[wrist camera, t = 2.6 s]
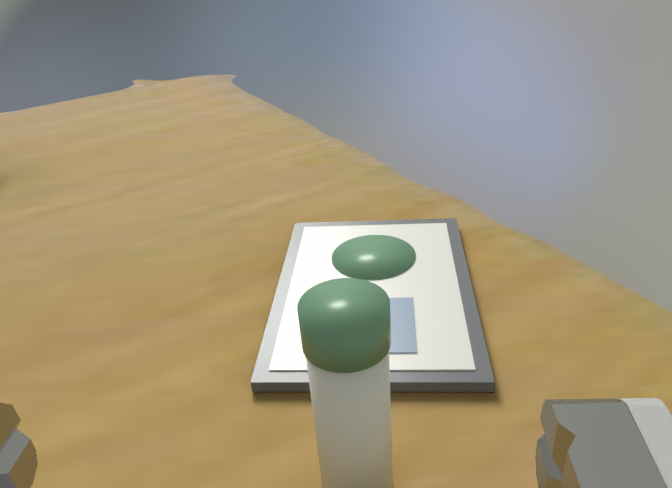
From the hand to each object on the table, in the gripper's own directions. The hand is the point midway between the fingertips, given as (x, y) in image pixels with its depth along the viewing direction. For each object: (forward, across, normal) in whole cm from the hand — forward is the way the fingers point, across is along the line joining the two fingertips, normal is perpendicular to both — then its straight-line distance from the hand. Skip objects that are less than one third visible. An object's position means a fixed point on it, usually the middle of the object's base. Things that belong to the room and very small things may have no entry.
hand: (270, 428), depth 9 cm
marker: (+13, 0, +19) cm, 23 cm away
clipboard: (+30, 0, +19) cm, 36 cm away
